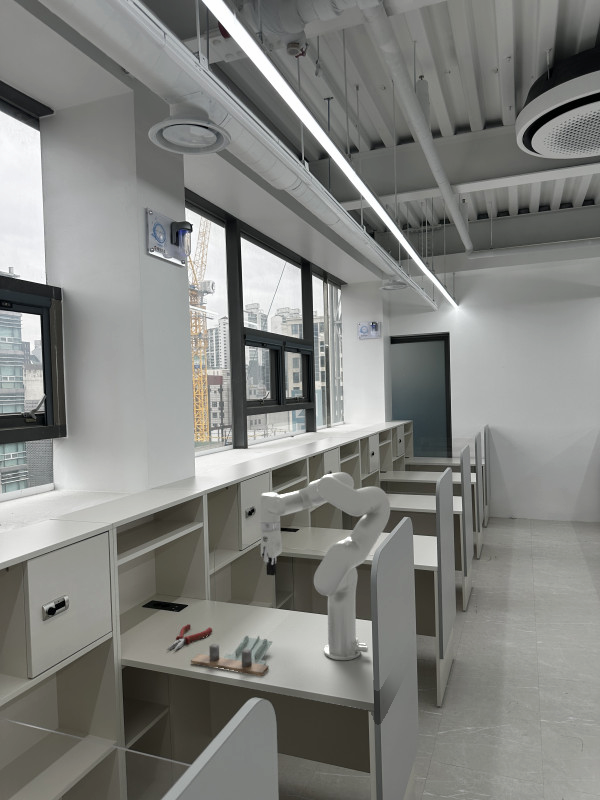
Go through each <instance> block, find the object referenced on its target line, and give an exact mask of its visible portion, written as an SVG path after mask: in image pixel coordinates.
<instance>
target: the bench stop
mask: <svg viewBox="0 0 600 800" xmlns="http://www.w3.org/2000/svg"><path fill="white" fill-rule="evenodd" d="M208 648H209V655H208V654H207V655H206V654H201V653H199V654H197V655H196V656H194V657H193V658H192V659H190V664H191V663H193V664H192V665H195V664H199V665H198V666H200V665H205V666H204V667H206V666H211V667H218V668H224V669H229V670H234V671H238V672H237V673H240V672H242V673H241V674H245V673H247V675H252V676H258V677H263V676H264V675H265V674H266V673H267V672H268V670H269V669H270V668H269V665H267V664H264V665H262V664H256V663H252V652H251V650H249V649H245V650H242V661H238V660H232V659H226V658H224V657H220V645H219V644H217V643H213V644H210V645H209V647H208ZM211 667H210V668H211ZM234 671H233V672H234Z"/></svg>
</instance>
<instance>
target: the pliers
mask: <svg viewBox="0 0 600 800" xmlns="http://www.w3.org/2000/svg"><path fill="white" fill-rule="evenodd" d="M191 628H192V627H191V624H189V623H188V624H186V625H184V626H183V627H182V628H181V629H180V630H179V631H180V632H179V635H177V636H176V638H175V641H174V642H173V643H172V644H171V645H170V646H169V647H168V648H166V650H167V651H169V650H172V649H173V651H174V652H175V651H176V650H178V649H180V648H182V647H183V646H184V645H186V643H187V645H188V644H189V645H190V644H191V642H192V641H193V642H195V640H196V641H199V640H201V639H200V638H202V639H204V638H203V637H205V638H206V636H207V635H209V634H210V633H211V632H212V633H213V628H212V627H210V626H209V627H208V628H207V629H205V630H203V631H201V632H197V633H193V634H191V635H188V636H184V635H185V633H186V632H188V631H189V630H191ZM212 633H211V634H212ZM211 634H210V635H211ZM210 635H209V636H210ZM207 637H208V636H207ZM198 639H199V640H198Z"/></svg>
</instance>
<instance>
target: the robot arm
mask: <svg viewBox="0 0 600 800" xmlns="http://www.w3.org/2000/svg"><path fill="white" fill-rule="evenodd" d="M354 487H355V482H354V479H353V477H352V476H351V475H350V474H349V473H347V472H344V471H343V472H342V471H339V472H334V473H329V474H326V475H325V474H324V475H322V477H320V479H317V480H313V481H311V482H310V483H308V485H307V486H306V487H305V488H301V489H298V490H295V491H292V492H287V493H283V494H279V493H277V492H272V491H271V492H263V493H261V494H260V495H259V517H260V518H259V522H260V525H259V526H260V532H261V534H260V556H261V558H263V562H264V563H265V565H266V575H267V576H273V577H274V576H275V575H276V574H277V557H278V556H279V555H281V554H282V552H283V543H282V531H281V517H282V516H286V515H290V514H294V513H297V512H301V511H303V510H306V509H309V508H313V507H317V506H321V505H324V504H326V503H329V504H331V505H332V506H334V507H335V508H337V509H339V510H341V511H342V512H344V513H346V514H348V515H349V516H353V517H357V518H358V517H360V518H359V520H358V522H357V523H356V524H355V526H354V527H353V530H352V531H351V532H350V534H349V535H348V536H347V537H346V538H344V539H342V540H339V541H337V542H335V543H334V544H332V546H330V547H329V549H328V550H327V551H326V554H325V555H324V557H323V559H322V560H321V562H320V564H319V565H318V567H317V568H316V570H315V573H314V575H313V584H314V588H315V590H316V591H317V592H318V593H319V594H320V595H321V596H325V597H327V626H328V627H327V635H328V636H327V637H328V638H327V639H328V643H327V644H326V645H324V647H323V653H324V655H325V656H326V657H328V658H330V659H332V660H335V661H336V660H337V661H350V660H353V659H356V658H359V656H360V655H361V654H362V653H368V652H369V647H368V646H367V643H364V642H363V643H362V642H361V643H360V641H359V637H357V636H356V634H357V633H356V632H357V631H356V626H357V624H356V620H357V619H356V593H357V592H356V591H357V583H358V570H357V567H358V566H360V565H361V564H363V563H364V562H365V561H366V559H368V556H369V555H370V553H371V551H372V549H373V548H374V546H375V544H376V543H377V541H378V539H379V537H380V536H381V535H382V533H383V532H384V531H385V530H384V529H385V528H386V526H387V525H388V522H389V519H390V515H391V503H390V499H389V497H388V495H387V493H386V492H385V491H384V489H382V488H380V487H379V486H378V487H377V486H365V487H361V488H357V489H355V488H354Z"/></svg>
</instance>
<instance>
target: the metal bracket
mask: <svg viewBox="0 0 600 800" xmlns="http://www.w3.org/2000/svg"><path fill="white" fill-rule="evenodd" d="M272 643H273V641H272V640H268V639H267V638H264V639H260V635H258V636H257V637H256V638H254V637H249V635H245V636H243V639H242V640H241V641H240V643H239V644H238V645H237V647H236V649H235V650H234V651H233V653H226V654H225V655H224V657H223V658H227V659H232V660H238V661H242V650H245V649H249V650H251V652H252V663H256V664H262V665H266V663H267V660H263V659H264V656H265V655H266V654H267V651H269V649H270V646H271V645H272Z"/></svg>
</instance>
